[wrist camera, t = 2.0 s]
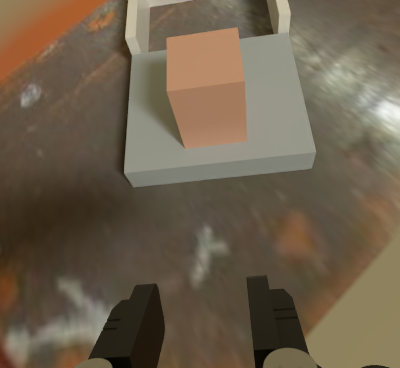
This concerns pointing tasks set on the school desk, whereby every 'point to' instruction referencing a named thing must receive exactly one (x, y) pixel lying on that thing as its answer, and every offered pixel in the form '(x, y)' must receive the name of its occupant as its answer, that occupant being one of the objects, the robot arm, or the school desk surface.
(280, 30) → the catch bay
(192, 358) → the school desk surface
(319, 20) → the school desk surface
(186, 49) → the tile block
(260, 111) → the far plate
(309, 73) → the school desk surface
